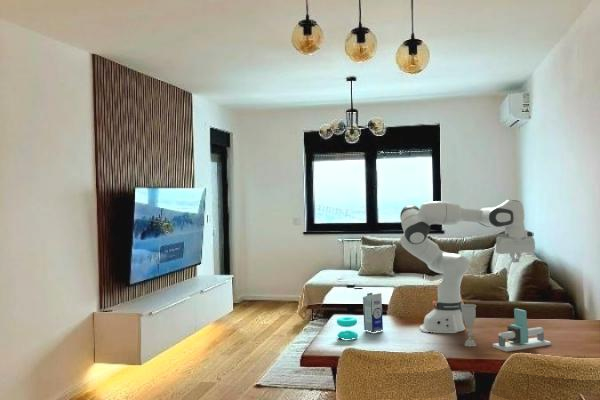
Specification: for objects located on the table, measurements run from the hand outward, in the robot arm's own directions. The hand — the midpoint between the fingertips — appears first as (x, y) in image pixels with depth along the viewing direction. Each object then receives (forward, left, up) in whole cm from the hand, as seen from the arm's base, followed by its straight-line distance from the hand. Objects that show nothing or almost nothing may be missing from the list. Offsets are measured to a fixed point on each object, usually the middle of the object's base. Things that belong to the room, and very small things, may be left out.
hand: (515, 262), depth 265 cm
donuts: (-82, -2, -35) cm, 89 cm away
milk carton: (-69, +11, -35) cm, 78 cm away
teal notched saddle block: (-5, -19, -33) cm, 38 cm away
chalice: (-26, -17, -35) cm, 47 cm away
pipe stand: (-4, -19, -35) cm, 40 cm away
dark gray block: (-7, -20, -32) cm, 39 cm away
